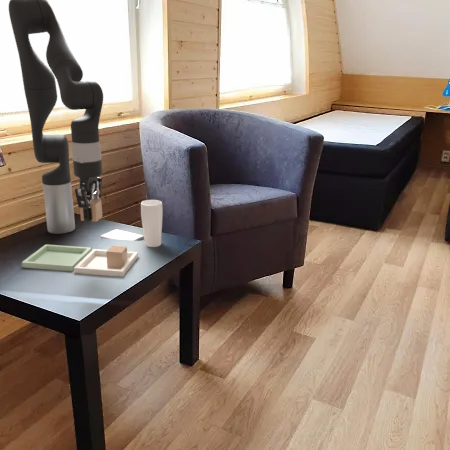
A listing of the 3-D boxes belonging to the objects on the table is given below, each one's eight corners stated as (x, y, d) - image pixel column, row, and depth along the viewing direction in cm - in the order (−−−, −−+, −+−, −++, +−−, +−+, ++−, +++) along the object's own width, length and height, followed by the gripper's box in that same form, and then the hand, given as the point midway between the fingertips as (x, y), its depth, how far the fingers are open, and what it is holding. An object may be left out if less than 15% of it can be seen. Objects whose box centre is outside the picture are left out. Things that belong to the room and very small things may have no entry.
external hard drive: (128, 247, 155) (100, 239, 160) (144, 239, 161) (117, 232, 167) (128, 242, 154) (100, 235, 160) (144, 235, 161) (116, 228, 167)
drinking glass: (159, 251, 150) (158, 206, 145) (139, 249, 151) (137, 204, 146) (166, 243, 156) (165, 200, 152) (146, 242, 158) (144, 198, 153)
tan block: (112, 261, 140) (111, 245, 138) (127, 262, 139) (126, 246, 137) (107, 267, 135) (106, 251, 134) (122, 268, 135) (121, 252, 133)
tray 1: (46, 251, 148) (45, 244, 147) (92, 255, 146) (91, 247, 146) (22, 270, 135) (21, 262, 134) (72, 274, 133) (72, 266, 132)
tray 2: (94, 256, 145) (93, 249, 144) (138, 259, 144) (138, 252, 143) (74, 276, 132) (74, 267, 131) (123, 279, 131) (122, 271, 130)
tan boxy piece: (87, 215, 136) (86, 198, 135) (102, 216, 136) (101, 199, 134) (81, 220, 132) (79, 203, 130) (96, 221, 132) (95, 204, 130)
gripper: (84, 152, 135) (88, 209, 141) (62, 162, 122) (68, 225, 128) (109, 153, 134) (113, 210, 140) (90, 164, 121) (95, 227, 127)
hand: (91, 217), depth 134 cm, fingers closed on tan boxy piece, 4 cm apart
